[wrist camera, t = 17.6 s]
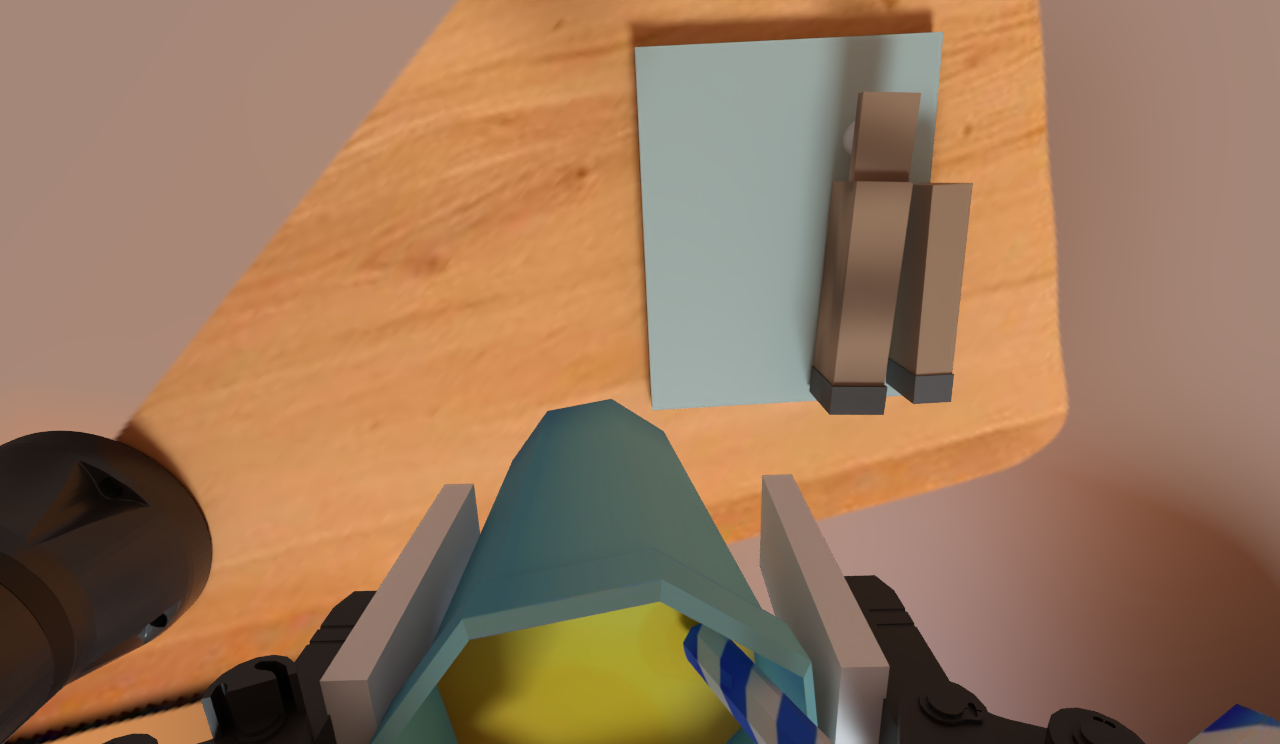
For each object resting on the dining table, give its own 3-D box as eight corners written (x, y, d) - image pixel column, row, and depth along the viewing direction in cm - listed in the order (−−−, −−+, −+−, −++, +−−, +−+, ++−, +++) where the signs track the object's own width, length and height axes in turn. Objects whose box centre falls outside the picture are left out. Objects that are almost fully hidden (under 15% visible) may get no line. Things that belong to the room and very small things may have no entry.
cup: (745, 239, 18) (1338, 509, 4) (855, 438, 21) (1465, 1044, 6) (366, 482, 19) (-212, 1332, 5) (511, 641, 22) (384, 1513, 8)
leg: (839, 99, 32) (867, 89, 29) (895, 100, 32) (930, 90, 29) (809, 391, 37) (829, 414, 34) (858, 391, 37) (883, 414, 34)
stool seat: (651, 403, 39) (655, 434, 34) (634, 51, 33) (636, 30, 28) (909, 388, 39) (949, 416, 34) (940, 36, 33) (993, 13, 28)
